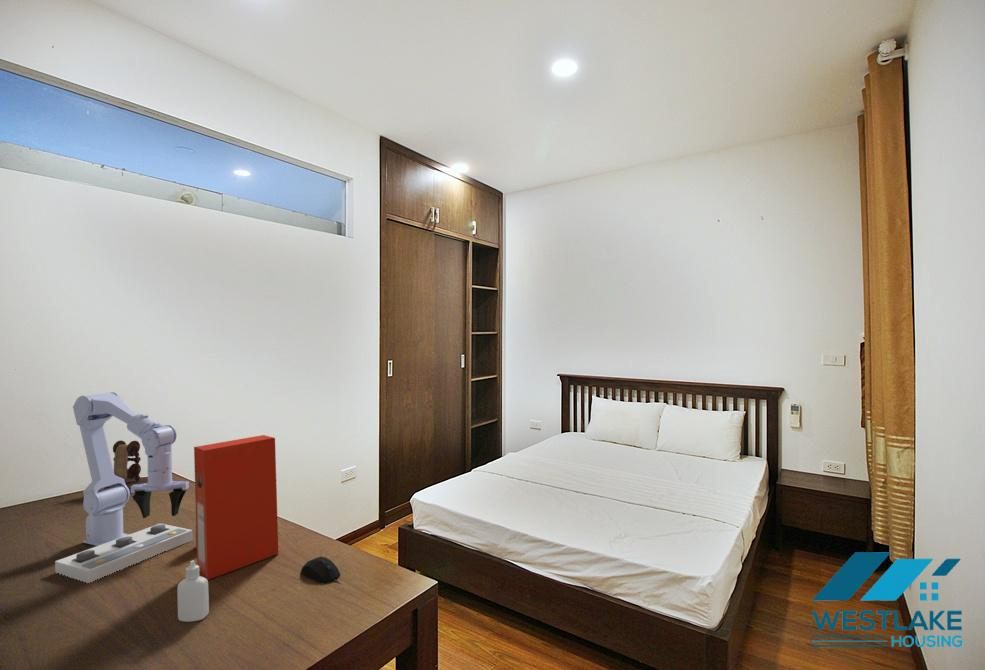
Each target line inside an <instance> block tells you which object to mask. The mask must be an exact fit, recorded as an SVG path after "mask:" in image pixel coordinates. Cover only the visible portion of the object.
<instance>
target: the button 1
mask: <svg viewBox="0 0 985 670" xmlns="http://www.w3.org/2000/svg"><path fill="white" fill-rule="evenodd" d="M87 550H88V549H87ZM83 551H84V552H82V551H80V552H81V553H79V552H78V553H79V554H77V553H76V554H77V555H76V558H77V562H78V563H82V562H85V561H87V560H90V559H92V558H95V551H94V550H88V551H85V550H83Z"/></svg>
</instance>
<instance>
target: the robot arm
mask: <svg viewBox="0 0 985 670" xmlns="http://www.w3.org/2000/svg"><path fill="white" fill-rule="evenodd" d="M72 408H73V409H72V410H73V414H74V418H75V422H76V425H77V426H78V427H79V430H80V435H81V439H82V443H83V448H84V452H85V455H86V459H87V461H86V462H87V465H88V469H89V474H90V477H91V482H90V483H89V484H88V485H87V486H86V487H85V488H84V489H83V491H82V492H83V502H82V504H83V509H84V510H85V511H86V513H87V514H88V515H87V516H86V518H85V537H86V539H84V540H82V543H83V544H88V545H91V546H93V547H96V546H99V545H102V544H104V543H107V542H110V541H113V540H116V539H118V538H121V537H124V536H127V535H129V534H130V533H125V532H124V509H123V508H125V507H126V504H127V503H128V502H129V499H130V496H131V494H134V495H132V499H133V500H134V502H135V503H136V504H137V506H138V508H139V510H140V512H141V513H140V514H141V516H142V519H146V518H147V517H150V515H151V514H150V513H151V497H152V495H151V494H152V493H153V492H162V491H163V492H164V491H171V492H169V493H168V496H169V500H170V504H171V508H170V509H171V516H172V517H175V516H177V515H178V514H179V510H180V507H181V502H182V500H183V499H184V496H185V494H186V493H187V490H188V489H189V488H190V481H179V480H173V461H172V460H173V458H172V456H173V453H172V445H173V444H174V443H175V442H176V440H177V431H176V429H175V428H174V426H172V424H171V425H170V424H166V425H164V424H160V422H158V421H156V420H155V419H153V418H151V417H150V416H149V414H148V413H137V412H135V411H134V410H133V409H132V408H130V407H129V406H128V405H127V404H126V403H124V400H123V396H121V395H120V394H118V393H117V392H116V391H113V392H111V391H110V392H105V393H98V394H90V395H80V396H78V397H77V398H76V400H75V401H74V403H73V406H72ZM113 417H114V418H116V419H118V420H119V421H122V422H123V423H125V424H126V428H127V431H128V432H131V433H132V434H133V435H135V436H137V437H138V438H140V440H141V444H142V446H143V448H144V454H145V455H146V456H147V479H148V483H145V484H136V485H133V486H131V490H129V489H128V487H127V486H126V484H125V481H124V479H123V478H120V477H118V476H115V475H114V466H113V463H112V459H111V454H110V451H109V446H108V442H107V437H106V432H105V428H104V425H105V424H106V422H107V421H109V420H110V419H112V418H113ZM107 486H111V487H110V488H106V489H104V487H107Z"/></svg>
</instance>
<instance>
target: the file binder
mask: <svg viewBox="0 0 985 670" xmlns="http://www.w3.org/2000/svg"><path fill="white" fill-rule="evenodd" d="M276 455H277V454H276V437H273V436H269V435H266V434H265V435H264V434H262V435H256V436H250V437H246V438H244V437H243V438H237V439H233V440H227V441H221V442H216V443H215V442H214V443H210V444H209V443H208V444H204V445H197V446H193V457H194V458H193V459H194V461H193V463H194V490H195V491H194V495H195V498H194V499H195V500H194V501H195V537H196V536H197V548H196V561H197V562H196V565H199V575H200V576H201V577H204V578H206V579H207V580H211V579H214V578H216V577H220V576H222V575H224V574H227V573H230V572H233V571H235V570H239V569H240V568H244V567H247V566H249V565H252V564H255V563H257V561H258V562H260V561H262V560H265V559H268V558H271V557H274V556H276V555H278V554H279V533H278V532H279V531H278V529H279V528H278V527H279V526H278V497H277V496H278V494H277V462H276V461H277V459H276V458H277V457H276ZM273 555H274V556H273Z"/></svg>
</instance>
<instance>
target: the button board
mask: <svg viewBox="0 0 985 670" xmlns="http://www.w3.org/2000/svg"><path fill="white" fill-rule="evenodd" d="M161 524H162V523H157V524H154V525H152V526H150V527H146V528H144V529H141V530H138V531H136V532H132V533H128V534H129V535H127V536H124V537H129V536H130V537H132V544H130V545H127V546H124V547H122V548H118V547H116V540H118V539H120V538H118V539H116V540H113V541H110V542H107V543H104V544H102V545H99V546H93V547H91V548H88V549H85V550H83V551H80V552H77V553H74V554H72V555H68V556H67V557H64V558H61V559H60V558H59V559H57V560H55V561H54V569H55V572H56V573H55V572H54V573H55V574H57V573H59V574H58V575H61V574H62V575H61V576H64V575H65V576H64V577H67V576H68V577H67V578H71V579H73V578H74V580H76V579H77V581H79V580H80V581H79V582H82V581H83V583H85V582H86V584H88V583H89V584H91V583H94V582H95V580H96V581H98V580H100V578H101V579H103V578H105V577H104V576H106V577H107V575H108V576H110V575H113V574H115V573H117V572H116V571H118V572H120V571H122V570H124V568H125V569H127V568H129V567H128V566H130V567H132V566H134V565H136V563H137V564H138V563H141V561H142V562H144V561H146V560H149V559H151V558H154V557H156V556H158V555H160V553H161V554H163V553H165V552H164V551H166V552H168V551H170V550H173V549H175V548H177V547H179V546H182V545H184V544H187V543H190V542H192V541H194V539H193V529H190V528H184V527H180V526H175V525H170V524H166V523H163V524H164V525H165V531H164V532H161V533H159V534H156V535H153V534H151V529H150V528H151V527H153V526H156V525H161ZM121 538H123V537H121ZM88 550H94V551H95V558H92V559H90V560H87V561H85V562H82V563H78V562H77V558H76V555H77V554H79V553H81V552H84V551H88ZM162 552H163V553H162ZM157 554H158V555H157ZM155 555H156V556H155ZM153 556H154V557H153ZM150 557H151V558H150ZM148 558H149V559H148ZM145 559H146V560H145ZM143 560H144V561H143ZM133 564H134V565H133ZM131 565H132V566H131ZM126 567H127V568H126ZM119 570H120V571H119ZM114 572H115V573H114ZM112 573H113V574H112ZM109 574H110V575H109ZM102 577H103V578H102ZM97 579H98V580H97ZM93 581H94V582H93ZM90 582H91V583H90Z"/></svg>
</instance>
